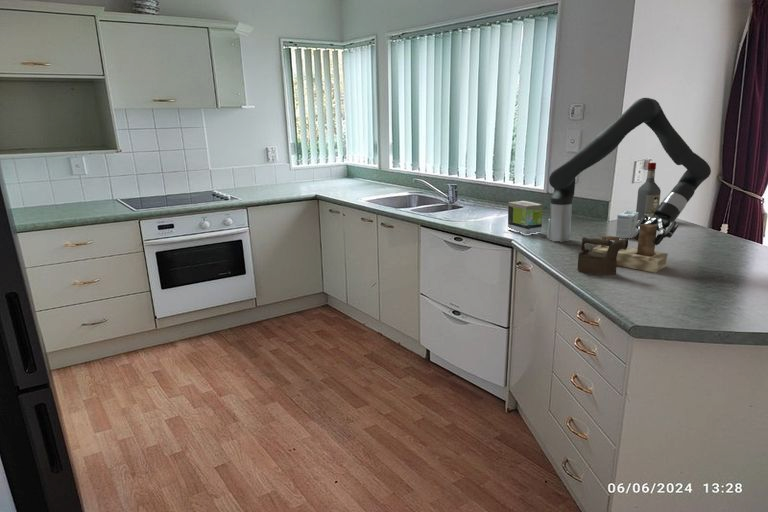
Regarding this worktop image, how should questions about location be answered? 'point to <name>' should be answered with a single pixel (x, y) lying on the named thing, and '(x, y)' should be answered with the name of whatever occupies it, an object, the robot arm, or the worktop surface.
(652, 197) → the liquor
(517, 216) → the tea box
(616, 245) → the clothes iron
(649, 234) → the walnut key
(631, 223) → the light bulb box
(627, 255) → the pine toolbox
